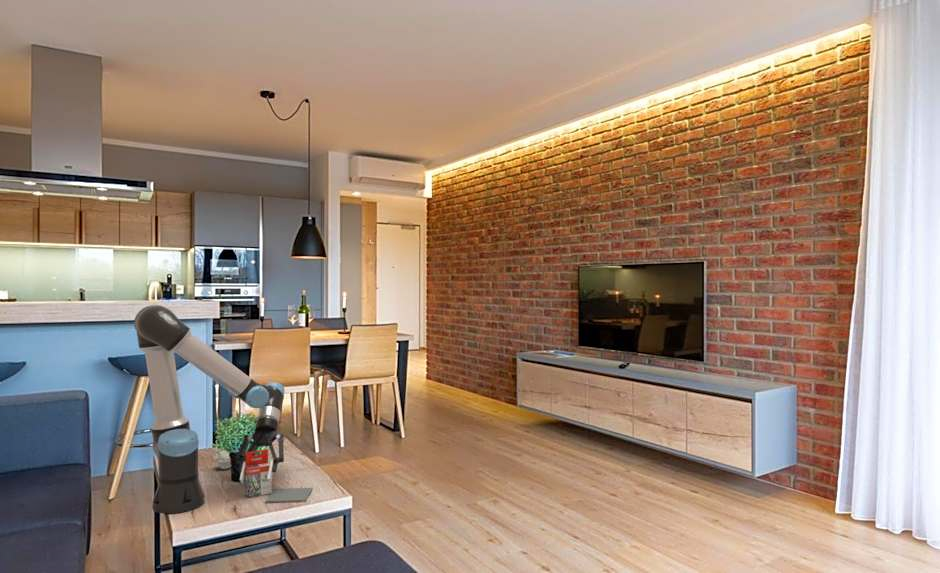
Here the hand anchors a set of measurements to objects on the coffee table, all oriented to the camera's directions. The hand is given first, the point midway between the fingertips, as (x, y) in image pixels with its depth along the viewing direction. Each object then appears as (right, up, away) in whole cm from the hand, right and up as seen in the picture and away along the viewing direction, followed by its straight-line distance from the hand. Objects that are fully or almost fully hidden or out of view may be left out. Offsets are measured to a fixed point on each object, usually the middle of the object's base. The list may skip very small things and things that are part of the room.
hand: (255, 480), depth 202 cm
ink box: (0, -6, +3) cm, 7 cm away
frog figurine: (-23, -6, +32) cm, 40 cm away
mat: (+11, -6, +2) cm, 12 cm away
